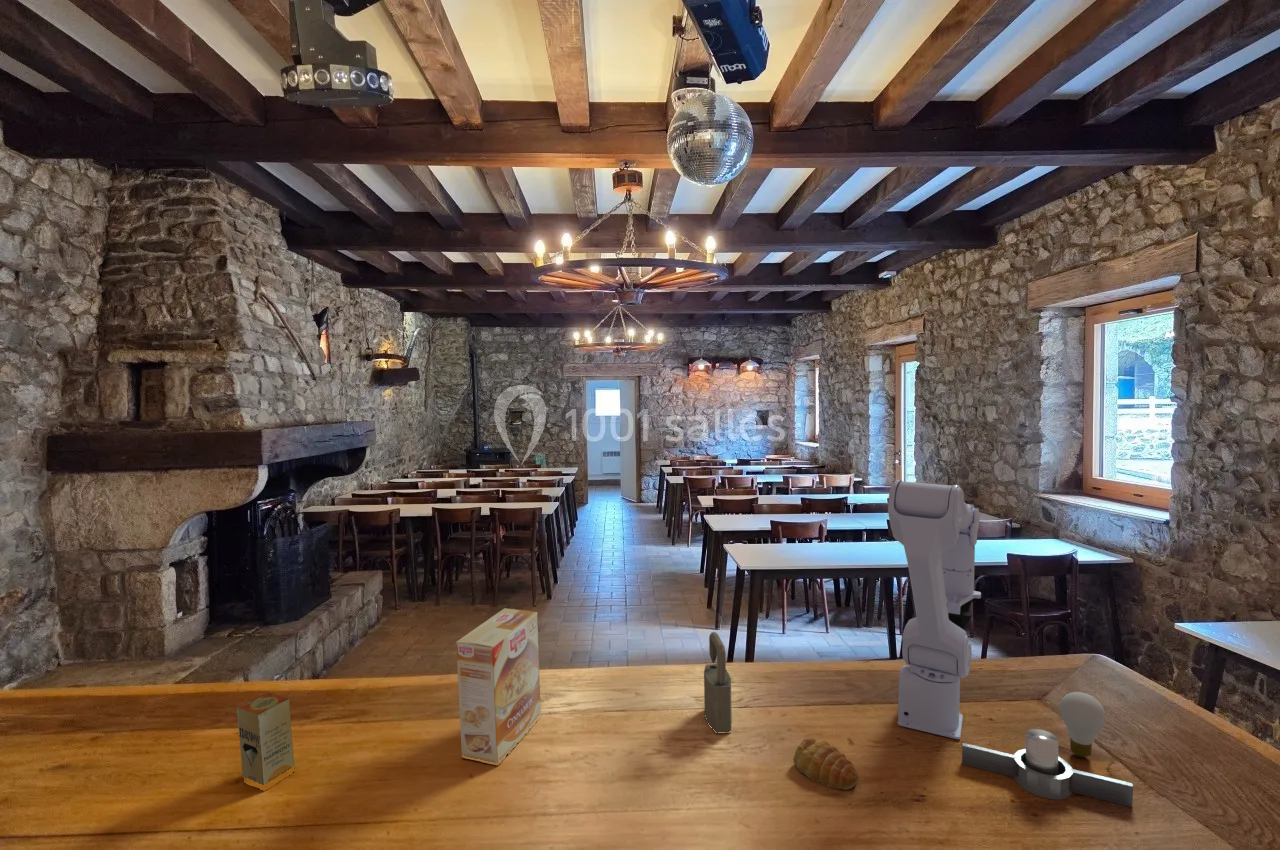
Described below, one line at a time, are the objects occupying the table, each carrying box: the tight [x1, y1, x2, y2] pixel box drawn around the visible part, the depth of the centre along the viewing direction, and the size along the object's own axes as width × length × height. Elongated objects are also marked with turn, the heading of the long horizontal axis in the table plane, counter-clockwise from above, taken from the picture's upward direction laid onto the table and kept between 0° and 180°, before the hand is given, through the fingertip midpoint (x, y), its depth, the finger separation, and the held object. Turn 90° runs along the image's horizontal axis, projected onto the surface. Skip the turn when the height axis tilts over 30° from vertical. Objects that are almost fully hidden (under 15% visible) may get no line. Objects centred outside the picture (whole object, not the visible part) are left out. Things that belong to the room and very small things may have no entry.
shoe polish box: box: [236, 692, 295, 785], centre depth 98 cm, size 5×5×12 cm
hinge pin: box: [1025, 728, 1059, 776], centre depth 93 cm, size 4×4×7 cm
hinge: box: [961, 742, 1134, 808], centre depth 93 cm, size 21×7×3 cm, turn 60°
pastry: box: [792, 736, 859, 791], centre depth 97 cm, size 9×7×4 cm
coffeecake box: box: [455, 607, 542, 763], centre depth 107 cm, size 15×7×20 cm, turn 161°
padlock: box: [703, 631, 733, 733], centre depth 111 cm, size 4×8×15 cm, turn 6°
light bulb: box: [1058, 691, 1107, 759], centre depth 99 cm, size 6×6×10 cm
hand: (955, 638), depth 120 cm, fingers open, 7 cm apart
